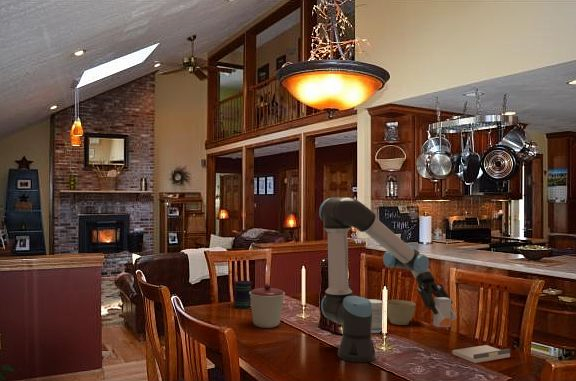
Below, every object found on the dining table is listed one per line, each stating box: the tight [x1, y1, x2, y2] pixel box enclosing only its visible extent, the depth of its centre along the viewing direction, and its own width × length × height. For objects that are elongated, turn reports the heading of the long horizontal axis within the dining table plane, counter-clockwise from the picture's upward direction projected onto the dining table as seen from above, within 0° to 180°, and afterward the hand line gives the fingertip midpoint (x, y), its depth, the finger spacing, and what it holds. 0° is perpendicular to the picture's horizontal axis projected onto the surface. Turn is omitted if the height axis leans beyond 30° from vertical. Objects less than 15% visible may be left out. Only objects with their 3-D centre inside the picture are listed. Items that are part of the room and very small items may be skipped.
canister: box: [249, 282, 286, 329], centre depth 236 cm, size 18×18×21 cm
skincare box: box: [432, 297, 452, 328], centre depth 203 cm, size 6×4×12 cm
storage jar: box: [233, 280, 252, 310], centre depth 276 cm, size 10×10×15 cm
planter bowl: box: [386, 299, 417, 326], centre depth 247 cm, size 16×16×11 cm
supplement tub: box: [368, 299, 383, 334], centre depth 231 cm, size 10×10×15 cm
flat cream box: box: [451, 344, 511, 364], centre depth 196 cm, size 20×12×3 cm, turn 116°
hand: (448, 319), depth 200 cm, fingers closed on skincare box, 6 cm apart
